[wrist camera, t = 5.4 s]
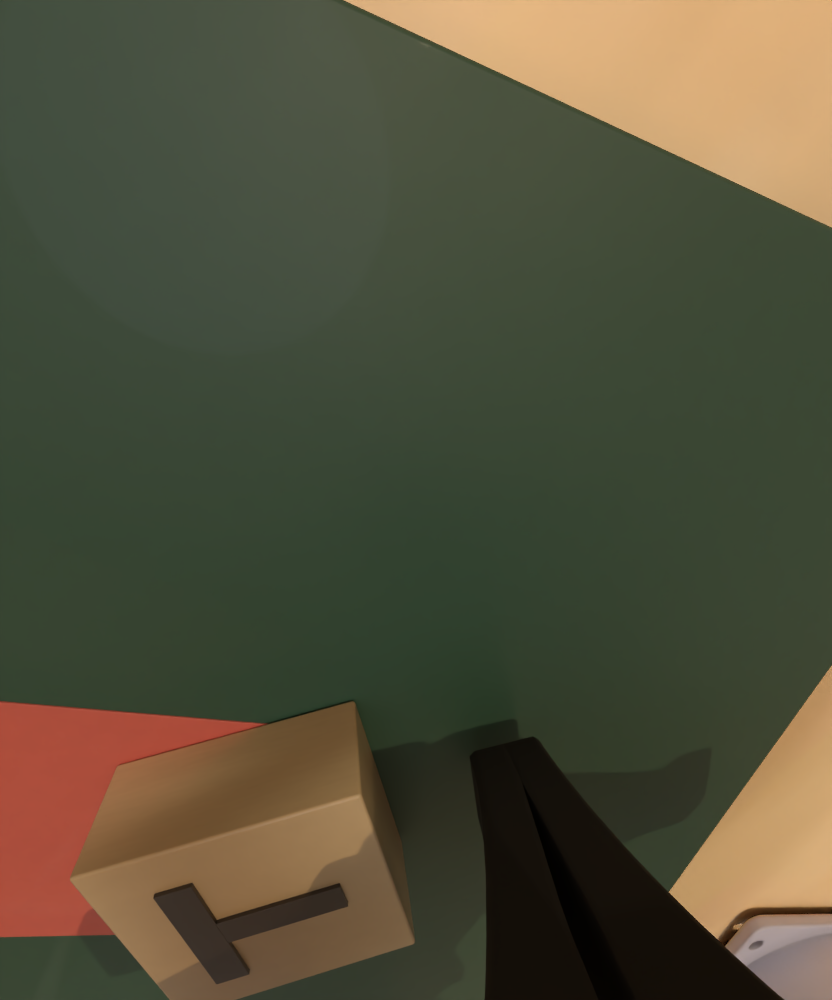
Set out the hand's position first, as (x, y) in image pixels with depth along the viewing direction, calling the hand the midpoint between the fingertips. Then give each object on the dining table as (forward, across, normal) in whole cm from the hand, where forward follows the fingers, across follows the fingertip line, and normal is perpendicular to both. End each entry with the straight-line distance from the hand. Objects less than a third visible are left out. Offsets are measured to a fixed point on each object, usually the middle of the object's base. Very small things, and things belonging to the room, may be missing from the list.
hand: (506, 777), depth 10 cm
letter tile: (+1, +5, 0) cm, 5 cm away
